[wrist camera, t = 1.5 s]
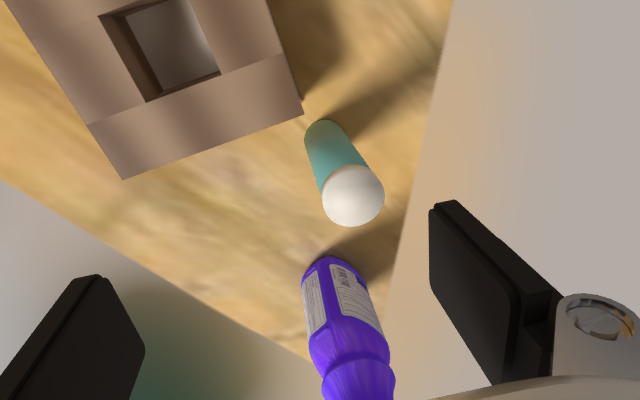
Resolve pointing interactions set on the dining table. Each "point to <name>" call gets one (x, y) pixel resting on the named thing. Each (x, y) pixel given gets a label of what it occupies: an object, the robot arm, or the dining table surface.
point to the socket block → (164, 72)
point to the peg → (342, 176)
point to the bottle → (345, 333)
